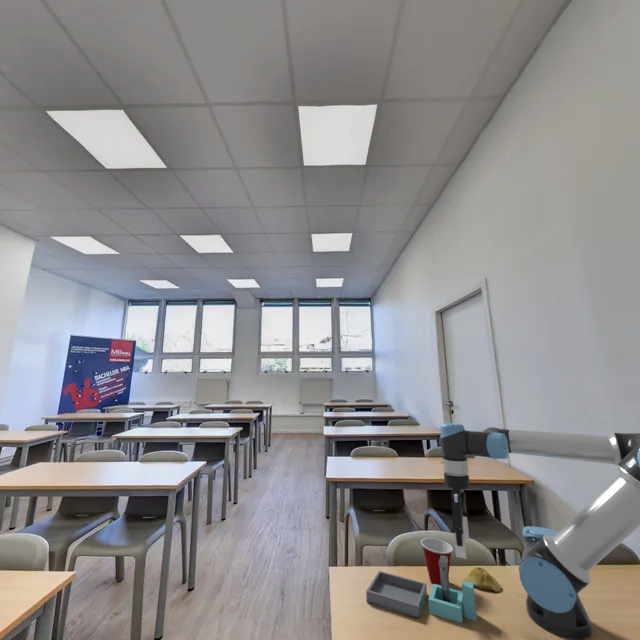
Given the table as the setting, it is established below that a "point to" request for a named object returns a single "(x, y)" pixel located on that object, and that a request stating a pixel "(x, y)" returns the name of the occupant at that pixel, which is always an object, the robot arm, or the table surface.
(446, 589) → the t stake
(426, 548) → the plastic cup
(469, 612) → the tabbed collar
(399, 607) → the tray
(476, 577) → the fossil
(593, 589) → the table surface
